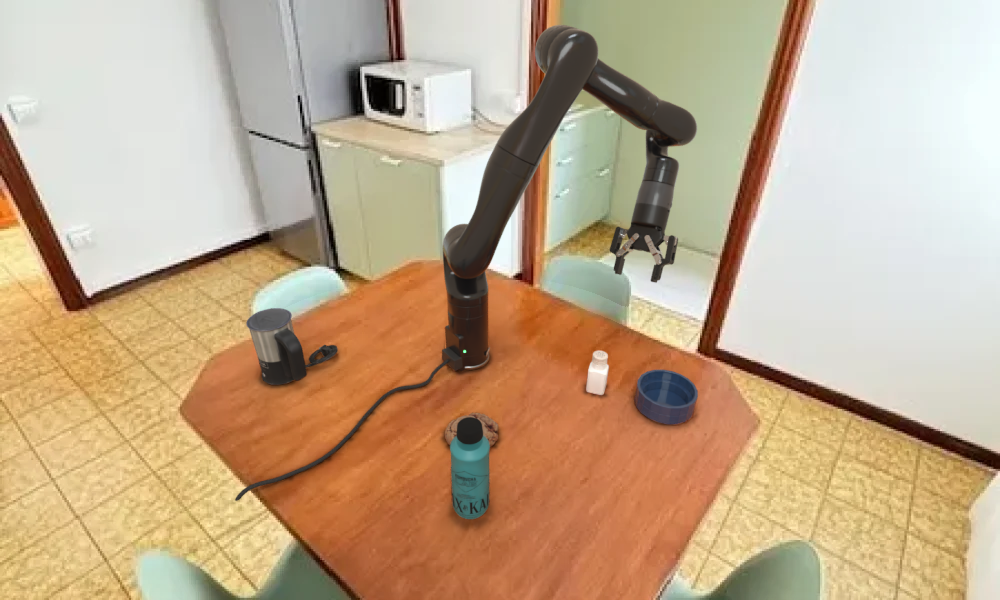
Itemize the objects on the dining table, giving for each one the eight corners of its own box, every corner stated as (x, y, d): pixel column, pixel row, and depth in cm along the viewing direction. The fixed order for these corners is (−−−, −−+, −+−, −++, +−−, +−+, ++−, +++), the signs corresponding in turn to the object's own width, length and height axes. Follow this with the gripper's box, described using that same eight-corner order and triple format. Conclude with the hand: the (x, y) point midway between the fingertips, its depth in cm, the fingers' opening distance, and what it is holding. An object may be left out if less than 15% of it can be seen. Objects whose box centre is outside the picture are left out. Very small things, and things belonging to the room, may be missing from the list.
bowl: (668, 435, 108) (673, 416, 105) (622, 402, 116) (625, 384, 113) (705, 409, 114) (709, 391, 111) (658, 379, 122) (662, 362, 120)
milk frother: (252, 379, 121) (236, 324, 114) (299, 341, 134) (287, 290, 126) (303, 395, 117) (290, 340, 109) (347, 355, 129) (338, 302, 122)
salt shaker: (606, 385, 120) (611, 351, 116) (603, 396, 117) (608, 362, 112) (588, 381, 122) (592, 347, 117) (585, 392, 118) (589, 358, 113)
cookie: (438, 427, 109) (438, 416, 108) (487, 412, 113) (487, 402, 111) (455, 462, 101) (454, 450, 100) (506, 445, 105) (506, 434, 103)
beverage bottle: (451, 495, 95) (446, 410, 85) (489, 493, 95) (489, 408, 85) (452, 528, 89) (446, 441, 79) (492, 525, 90) (492, 438, 79)
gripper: (616, 198, 118) (599, 270, 120) (678, 206, 110) (659, 283, 111) (630, 204, 124) (613, 273, 126) (690, 212, 116) (672, 286, 117)
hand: (635, 278), depth 119 cm, fingers open, 8 cm apart
